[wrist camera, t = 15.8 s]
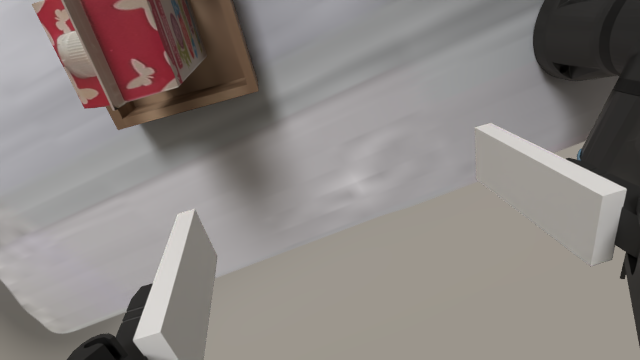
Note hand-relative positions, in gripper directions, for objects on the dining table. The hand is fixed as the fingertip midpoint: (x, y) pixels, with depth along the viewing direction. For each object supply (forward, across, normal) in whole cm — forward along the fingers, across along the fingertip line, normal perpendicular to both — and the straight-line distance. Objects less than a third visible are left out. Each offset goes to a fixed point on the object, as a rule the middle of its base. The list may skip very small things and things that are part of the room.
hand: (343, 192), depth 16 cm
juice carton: (+32, +11, -8) cm, 35 cm away
